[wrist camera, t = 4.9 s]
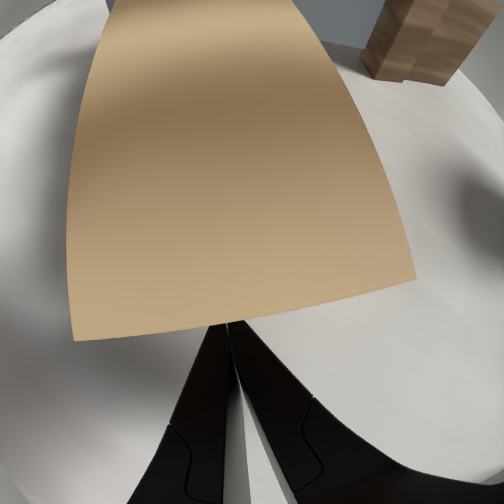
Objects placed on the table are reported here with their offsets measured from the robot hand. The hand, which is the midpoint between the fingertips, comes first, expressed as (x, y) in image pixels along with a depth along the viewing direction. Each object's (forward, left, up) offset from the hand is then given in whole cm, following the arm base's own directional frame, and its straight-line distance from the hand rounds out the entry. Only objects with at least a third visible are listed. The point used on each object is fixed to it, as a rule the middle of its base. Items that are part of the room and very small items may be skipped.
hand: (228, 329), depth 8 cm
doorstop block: (+7, -6, -6) cm, 11 cm away
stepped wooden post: (+1, -25, -6) cm, 26 cm away
